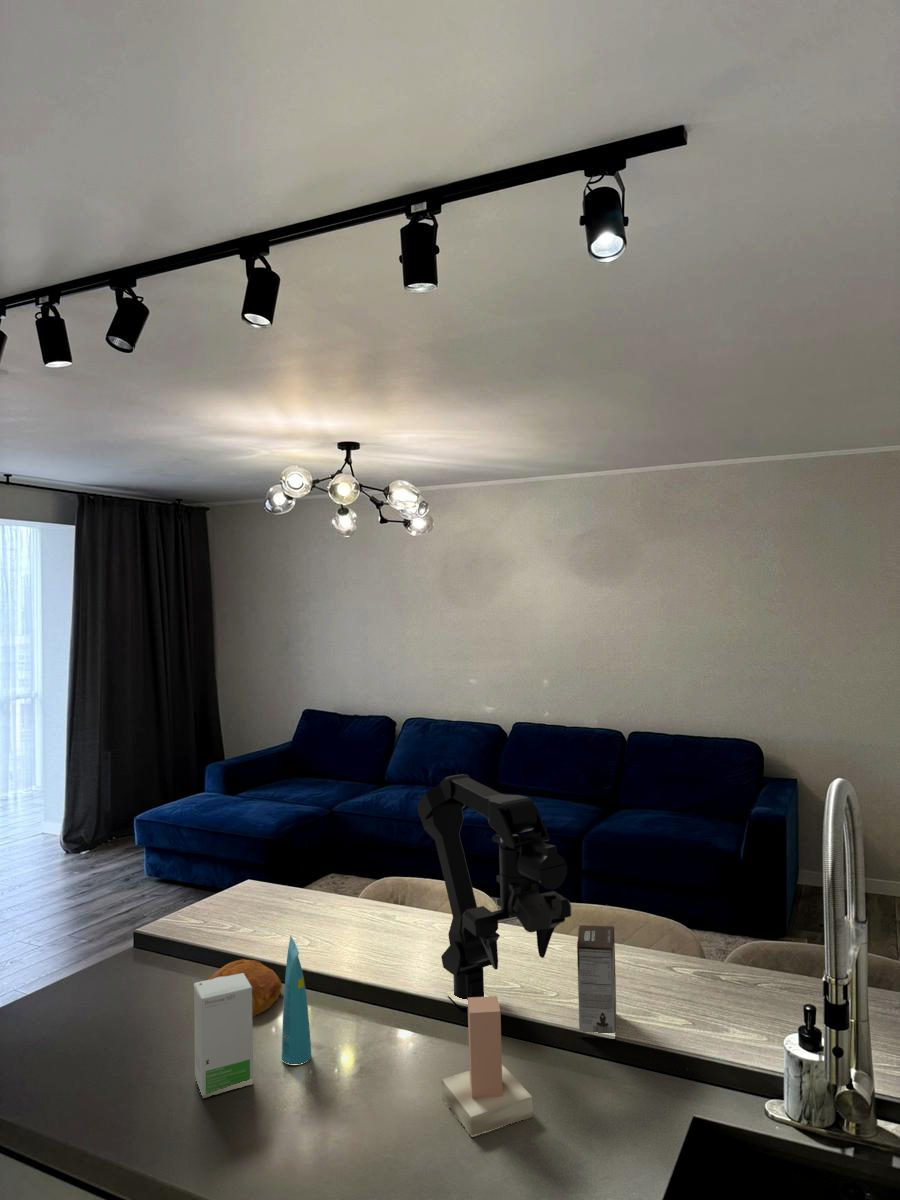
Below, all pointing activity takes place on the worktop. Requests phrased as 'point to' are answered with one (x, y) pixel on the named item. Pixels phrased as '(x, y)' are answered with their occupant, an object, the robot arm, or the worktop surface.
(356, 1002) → the worktop surface
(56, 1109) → the worktop surface
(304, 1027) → the tube
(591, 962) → the coffee box
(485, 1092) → the column
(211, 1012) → the skincare box
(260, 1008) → the bread loaf
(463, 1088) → the plinth
